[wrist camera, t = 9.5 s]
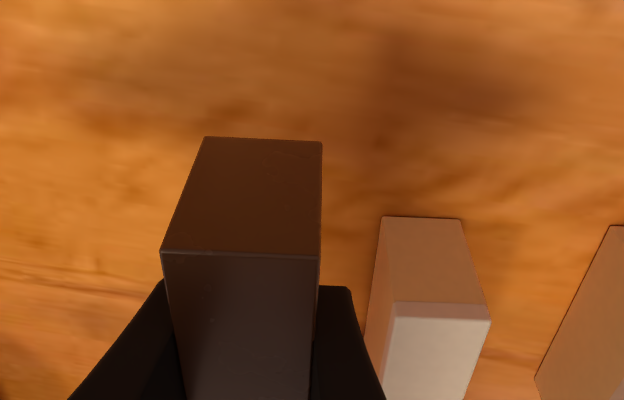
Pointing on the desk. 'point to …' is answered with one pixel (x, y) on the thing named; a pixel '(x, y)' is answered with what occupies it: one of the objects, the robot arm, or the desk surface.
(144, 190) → the desk surface
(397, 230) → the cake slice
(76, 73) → the desk surface
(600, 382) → the cake
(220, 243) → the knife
